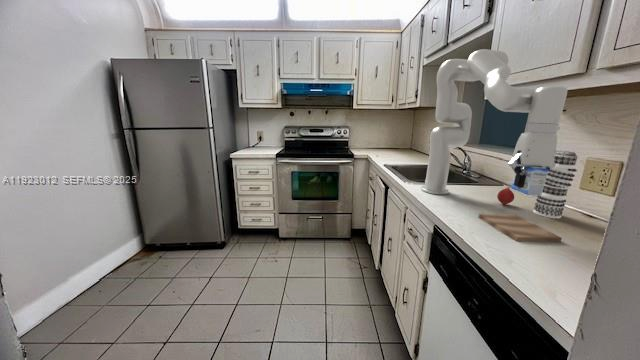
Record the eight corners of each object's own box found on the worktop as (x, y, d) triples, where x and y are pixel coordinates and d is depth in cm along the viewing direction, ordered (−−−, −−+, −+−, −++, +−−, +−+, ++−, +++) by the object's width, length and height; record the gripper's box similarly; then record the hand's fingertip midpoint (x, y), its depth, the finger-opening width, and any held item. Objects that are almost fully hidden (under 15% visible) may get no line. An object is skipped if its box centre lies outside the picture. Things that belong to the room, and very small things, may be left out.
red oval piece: (496, 205, 108) (500, 187, 106) (494, 201, 113) (498, 184, 111) (513, 208, 105) (517, 189, 103) (510, 204, 110) (515, 186, 108)
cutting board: (478, 217, 94) (479, 213, 93) (514, 218, 94) (515, 214, 94) (516, 241, 76) (517, 237, 76) (560, 242, 77) (562, 237, 76)
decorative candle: (555, 212, 102) (573, 150, 96) (567, 220, 94) (588, 154, 87) (528, 208, 105) (543, 149, 99) (537, 216, 97) (555, 152, 91)
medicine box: (509, 188, 86) (515, 163, 84) (523, 188, 86) (529, 163, 83) (527, 195, 78) (534, 167, 76) (542, 195, 78) (549, 168, 76)
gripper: (556, 129, 81) (541, 184, 85) (504, 127, 80) (492, 183, 85) (580, 131, 73) (562, 190, 78) (523, 129, 73) (509, 189, 78)
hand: (526, 186), depth 81 cm, fingers closed on medicine box, 4 cm apart
